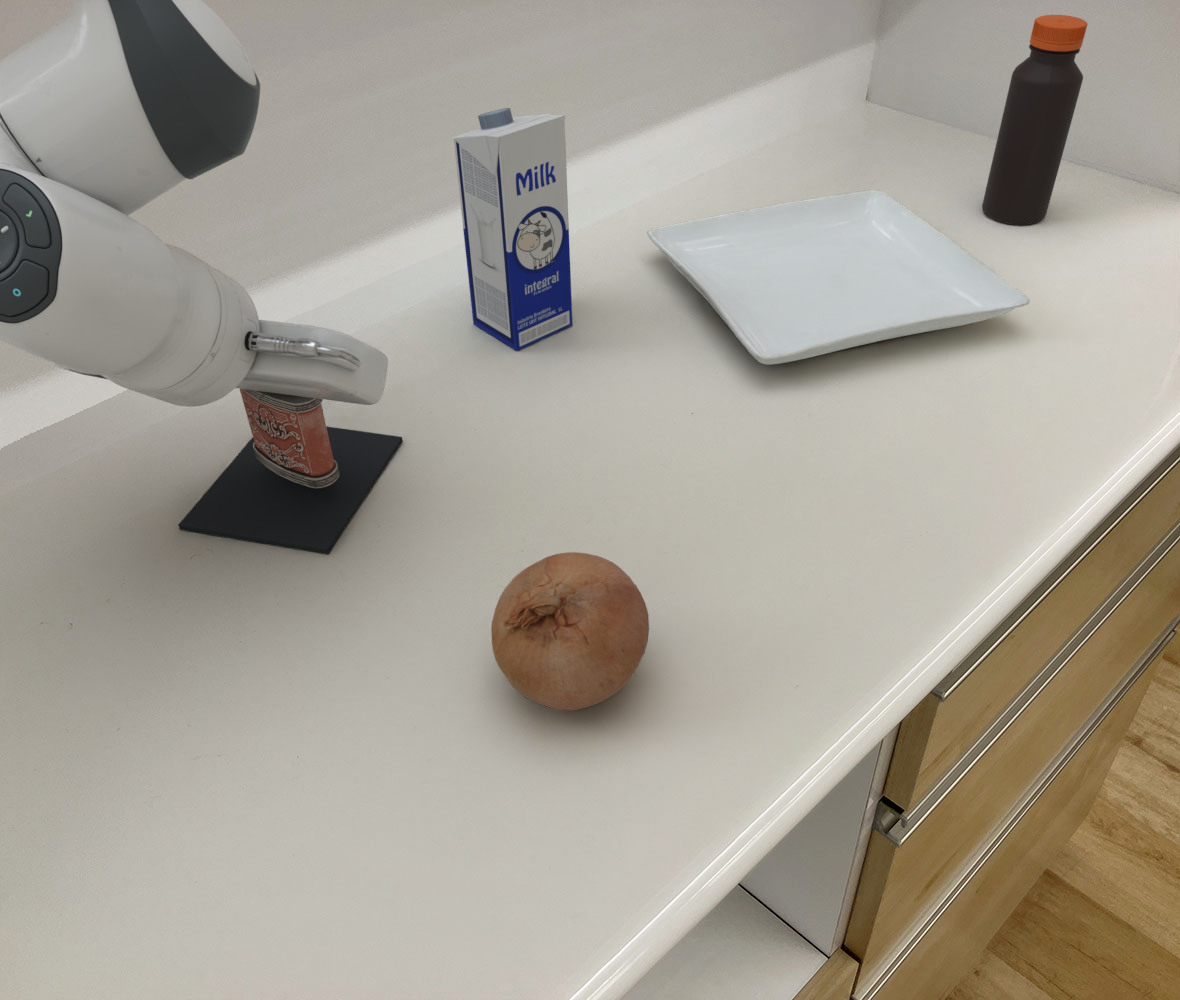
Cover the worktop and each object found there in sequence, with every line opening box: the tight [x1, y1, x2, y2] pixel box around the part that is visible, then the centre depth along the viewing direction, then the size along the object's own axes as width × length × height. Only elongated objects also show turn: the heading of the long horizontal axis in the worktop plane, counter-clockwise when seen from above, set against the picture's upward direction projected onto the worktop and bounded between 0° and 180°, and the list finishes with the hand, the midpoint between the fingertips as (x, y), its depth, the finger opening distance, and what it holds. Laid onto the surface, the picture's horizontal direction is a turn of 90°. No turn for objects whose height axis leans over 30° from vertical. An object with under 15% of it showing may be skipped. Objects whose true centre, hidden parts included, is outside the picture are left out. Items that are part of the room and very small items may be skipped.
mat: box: [177, 425, 404, 555], centre depth 81 cm, size 12×14×1 cm
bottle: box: [981, 14, 1088, 226], centre depth 109 cm, size 7×7×20 cm
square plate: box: [646, 189, 1030, 366], centre depth 101 cm, size 27×27×4 cm
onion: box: [490, 551, 650, 711], centre depth 63 cm, size 10×9×10 cm
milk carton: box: [452, 107, 573, 352], centre depth 93 cm, size 7×7×20 cm
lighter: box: [239, 388, 339, 488], centre depth 76 cm, size 8×3×10 cm, turn 53°
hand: (288, 380), depth 78 cm, fingers closed on lighter, 6 cm apart
